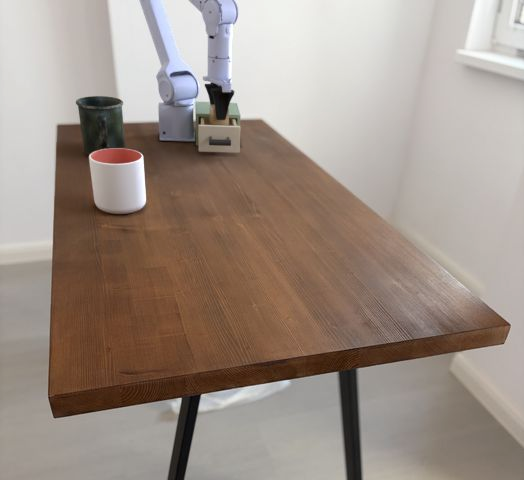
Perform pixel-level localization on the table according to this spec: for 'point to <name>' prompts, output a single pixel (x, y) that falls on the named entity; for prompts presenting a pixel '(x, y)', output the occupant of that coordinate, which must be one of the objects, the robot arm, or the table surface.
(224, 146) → the drawer
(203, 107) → the cabinet
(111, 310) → the table surface
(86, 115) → the mug
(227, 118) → the block
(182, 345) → the table surface
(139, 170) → the cup
